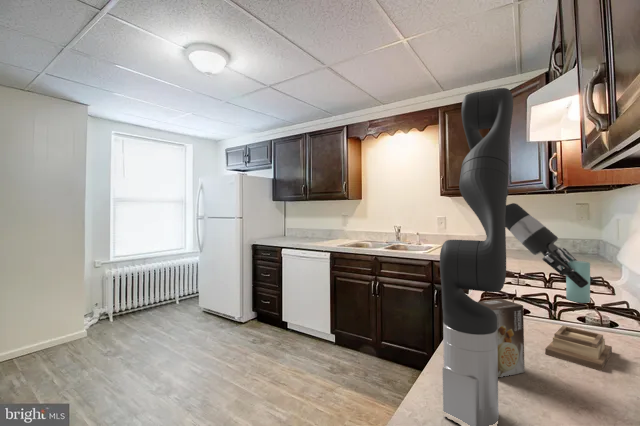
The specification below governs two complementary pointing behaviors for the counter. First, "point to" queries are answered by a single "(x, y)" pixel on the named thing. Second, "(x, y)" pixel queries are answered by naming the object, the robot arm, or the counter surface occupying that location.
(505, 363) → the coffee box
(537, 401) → the counter surface
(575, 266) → the teal post
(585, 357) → the base slab
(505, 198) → the robot arm
